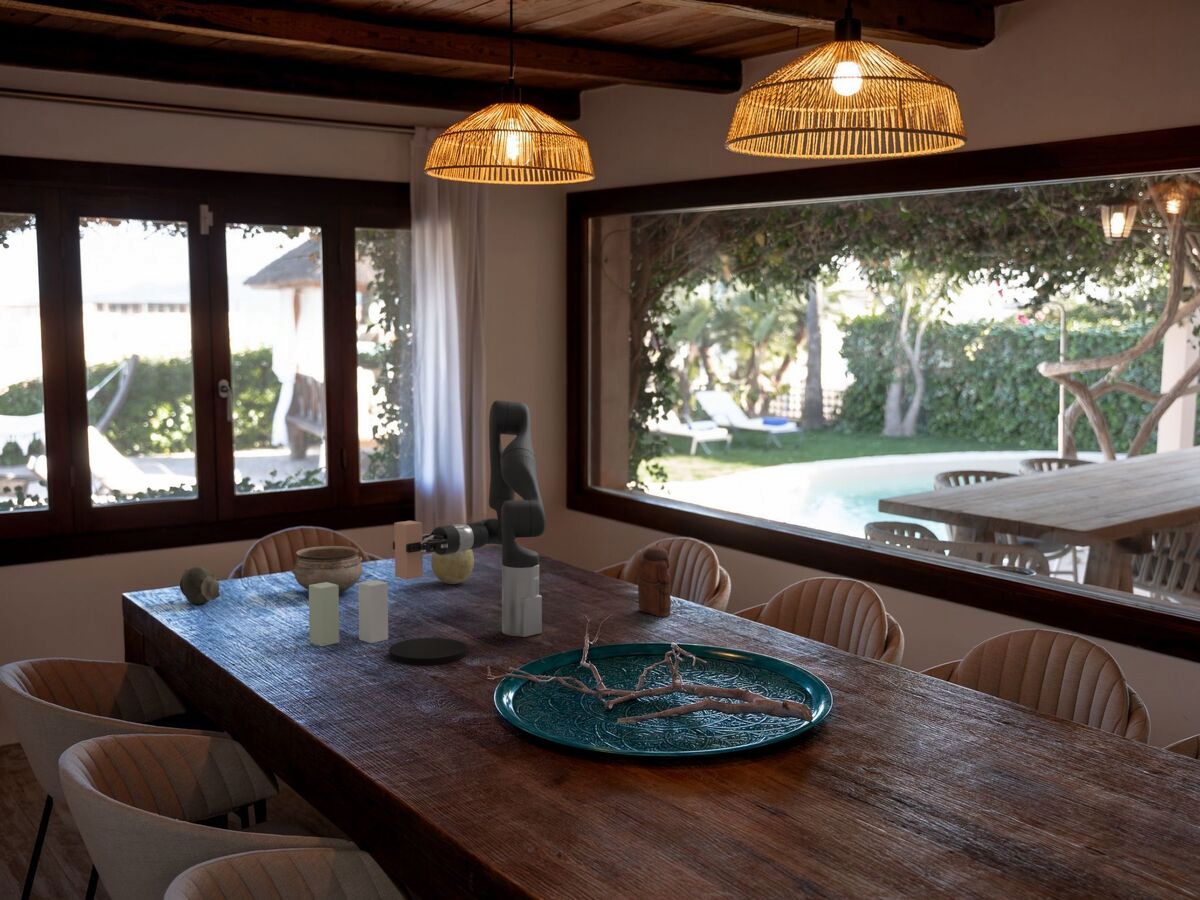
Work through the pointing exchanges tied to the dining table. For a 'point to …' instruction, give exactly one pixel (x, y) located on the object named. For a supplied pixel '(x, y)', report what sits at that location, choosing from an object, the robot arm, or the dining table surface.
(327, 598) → the sage block
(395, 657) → the wireless charger
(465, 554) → the fossilized egg
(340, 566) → the cooking pot
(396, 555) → the terracotta block
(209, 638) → the dining table surface
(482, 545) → the robot arm
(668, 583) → the wooden figurine
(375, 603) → the light grey block
